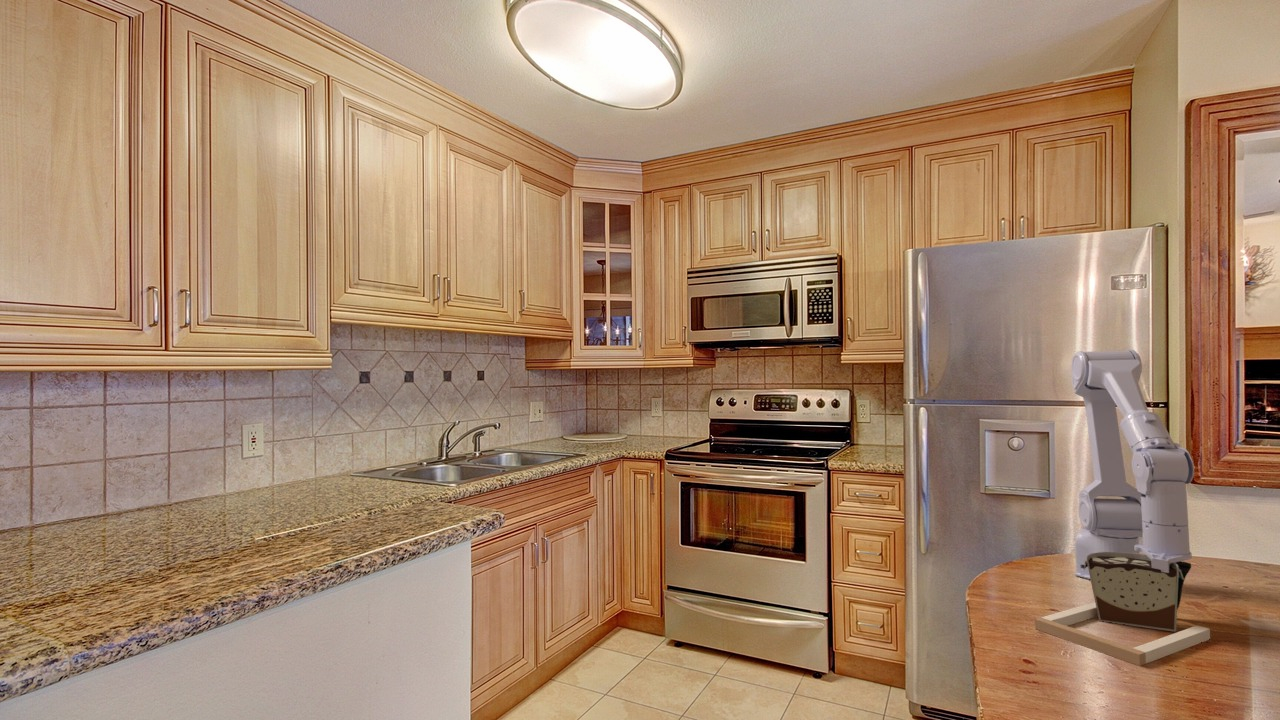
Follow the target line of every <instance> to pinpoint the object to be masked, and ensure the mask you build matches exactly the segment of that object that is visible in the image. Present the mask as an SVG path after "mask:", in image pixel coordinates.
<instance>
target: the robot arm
mask: <svg viewBox="0 0 1280 720" xmlns="http://www.w3.org/2000/svg"><path fill="white" fill-rule="evenodd" d="M1142 371H1143V362H1142V357H1140V354H1138V353H1137V351H1136V350H1135V349H1126V350H1105V351H1104V350H1101V351H1097V350H1095V351H1082V350H1078V351H1076V352H1075V353H1074V355H1073V356H1072V358H1071V364H1070V375H1071V376H1070V377H1071V384H1072V388H1073V391H1074V392H1073V393H1074V395H1077V396H1079V397H1082V398H1083V404H1084V408H1085V416H1086V422H1087V432H1088V440H1089V447H1090V455H1091V461H1092V471H1093V478H1094V480H1093V481H1092V482H1091V483H1088V484H1087V485H1086V486H1085V487H1083V488H1082V489H1081V490H1080V491H1079V494H1078V496H1079V503H1078V517H1079V518H1078V519H1079V520H1080V521H1079V522H1080V524H1081V525H1082V526H1083V528H1082V529H1080V530H1079V531H1078V532H1077V533H1076V537H1075V540H1074V541H1075V542H1074V543H1075V545H1074V546H1075V548H1074V550H1075V567H1076V568H1075V570H1076V572H1074V574H1073V575H1074V576H1076V577H1081V578H1084V579H1088V580H1091V579H1090V574H1089V569H1088V567H1086V568H1085V570H1084V564H1085V559H1087V555H1089V554H1092V553H1097V552H1125V553H1135V554H1140V552H1141V553H1142V554H1143V555H1146V556H1147V557H1149V558H1150V559H1151V562H1152V568H1155V569H1160V570H1161V572H1165V573H1169V564H1171V563H1173V562H1174V563H1176V564H1177V565H1178V566H1179V569H1180V570H1181V572H1182V575H1183V577H1184V580H1183V579H1182V578H1180V577H1179V578H1178V600H1177V610H1179V607H1180V603H1181V598H1182V592H1183V586H1184V583H1185V580H1186V577H1187V575H1188V573H1189V572H1190V570H1191V568H1192V563H1189V562H1187V561H1189V560H1191V559H1192V558H1193V554H1192V552H1191V547H1190V534H1189V533H1190V532H1189V530H1190V529H1189V516H1188V515H1189V514H1188V512H1189V511H1188V495H1187V485H1188V484H1190V483H1191V482H1192V481H1193V479H1194V475H1195V465H1194V460H1193V457H1191V454H1190V452H1189V450H1188V449H1186V448H1185V447H1182V446H1181V445H1180V443H1178V442H1177V443H1176V442H1174V441H1173V439H1172V437H1171V435H1170V433H1169V432H1168V429H1167V427H1166V426H1165V424H1164V421H1163V420H1162V418H1161V416H1160V415H1159V414H1157V413H1155V412H1153V411H1149V409H1148V406H1147V404H1146V401H1145V397H1144V395H1143V393H1142V390H1141V387H1140V384H1139V383H1140V379H1141V375H1142ZM1117 409H1118V410H1119V412H1120V413H1121V415H1122V417H1123V418H1122V419H1121V421H1120V423H1119V421H1118V413H1117ZM1120 429H1121V431H1122V433H1123V436H1124V437H1125V440H1126V442H1127V444H1128V447H1129V449H1130V451H1131V453H1132V458H1131V470H1132V474H1133V476H1134V480H1135V487H1134V486H1133V485H1131V484H1130V483H1128V482H1127V479H1126V470H1125V464H1124V458H1123V457H1124V456H1123V451H1122V450H1123V449H1122V443H1121V442H1122V441H1121V437H1120V435H1121V434H1120ZM1097 497H1120V498H1097ZM1123 498H1124V499H1123ZM1140 538H1142V544H1140ZM1162 570H1163V571H1162Z"/></svg>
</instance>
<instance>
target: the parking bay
mask: <svg viewBox="0 0 1280 720" xmlns="http://www.w3.org/2000/svg"><path fill="white" fill-rule="evenodd" d="M1090 618H1091V619H1094V618H1098V613H1097V608H1096V603H1095V601H1094V602H1090V603H1087V604H1084V605H1083V604H1082V605H1080V606H1075V607H1073V608H1069V609H1066V610H1063V611H1058V612H1056V613H1052V614H1049V615H1045V616H1042V617H1041V616H1040V617H1038V618H1035V619H1034V622H1035V623H1034V628H1035V630H1038V631H1040V632H1043V633H1046V634H1049V635H1051V636H1054V637H1058V638H1060V639H1063V640H1066V641H1068V642H1071V643H1073V644H1077V645H1080V646H1083V647H1085V648H1088V649H1091V650H1094V651H1096V652H1100V653H1102V654H1105V655H1107V656H1111V657H1114V658H1117V659H1120V660H1122V661H1124V662H1125V661H1126V662H1128V663H1131V664H1133V665H1136V666H1140V667H1141V666H1143V665H1144V666H1145V664H1148V663H1151V662H1153V661H1156V660H1159V659H1162V658H1164V657H1167V656H1170V655H1173V654H1175V653H1178V652H1180V651H1183V650H1186V649H1188V648H1192V647H1193V646H1197V645H1199V644H1201V642H1202V643H1204V642H1207V641H1209V639H1210V640H1211V631H1210V630H1211V629H1210V628H1208V627H1204V626H1201V625H1194V626H1192V627H1188V628H1186V629H1183V630H1180V631H1176V632H1174V633H1172V634H1169V635H1166V636H1163V637H1161V638H1157V639H1155V640H1152V641H1149V642H1146V643H1144V644H1141V645H1137V646H1135V647H1130V646H1127V645H1124V644H1121V643H1118V642H1115V641H1113V640H1109V639H1106V638H1103V637H1101V636H1098V635H1095V634H1092V633H1088V632H1085V631H1083V630H1079V629H1077V628H1074V627H1072V626H1071V625H1074V624H1077V623H1080V622H1081V623H1082V622H1084V621H1087V619H1088V620H1091V619H1090Z"/></svg>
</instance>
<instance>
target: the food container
mask: <svg viewBox="0 0 1280 720" xmlns="http://www.w3.org/2000/svg"><path fill="white" fill-rule="evenodd" d="M1086 567H1088V569H1089V574H1090V579H1089V580H1090V583H1091V588H1092V594H1093V598H1094V602H1095V603H1096V608H1097V613H1098V617H1097V619H1098V622H1102V621H1104V622H1103V623H1109V622H1112V623H1111V624H1116V623H1117V624H1118V625H1123V624H1125V625H1124V626H1132V627H1138V628H1147V629H1153V630H1161V631H1168V632H1169V631H1170V632H1174V633H1177V617H1178V616H1177V615H1178V609H1177V600H1178V578H1179V577H1180V578H1182V579H1183V580H1184V577H1183V575H1182V572H1181V570H1180V569H1179V566H1178V565H1177V564H1176V563H1174V562H1173V563H1171V564H1169V573H1165V572H1161V570H1160V569H1155V568H1152V562H1151V559H1150V558H1149V557H1147V556H1146V555H1145V554H1143V553H1142V554H1140V553H1139V554H1135V553H1125V552H1097V553H1092V554H1089V555H1087V559H1085V564H1084V570H1085V568H1086ZM1162 571H1163V570H1162ZM1184 581H1185V580H1184Z"/></svg>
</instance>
